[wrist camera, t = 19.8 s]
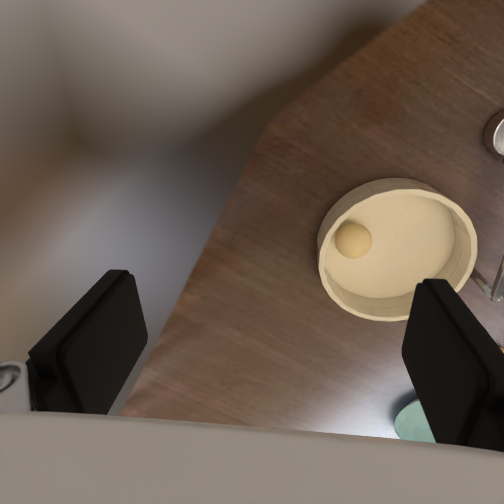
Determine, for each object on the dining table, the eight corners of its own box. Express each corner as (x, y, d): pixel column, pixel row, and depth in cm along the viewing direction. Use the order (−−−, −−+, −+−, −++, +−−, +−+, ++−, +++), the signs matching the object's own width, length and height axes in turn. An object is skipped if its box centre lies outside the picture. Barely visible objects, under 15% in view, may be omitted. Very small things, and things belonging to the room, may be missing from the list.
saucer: (476, 383, 48) (484, 396, 46) (466, 435, 53) (473, 449, 51) (391, 385, 50) (395, 398, 48) (389, 435, 55) (393, 448, 53)
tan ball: (351, 241, 34) (333, 218, 37) (342, 268, 37) (325, 245, 39) (384, 236, 35) (364, 213, 38) (372, 262, 38) (354, 240, 40)
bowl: (320, 177, 37) (323, 189, 33) (475, 176, 35) (498, 189, 31) (313, 297, 44) (315, 318, 40) (440, 301, 42) (455, 324, 38)
